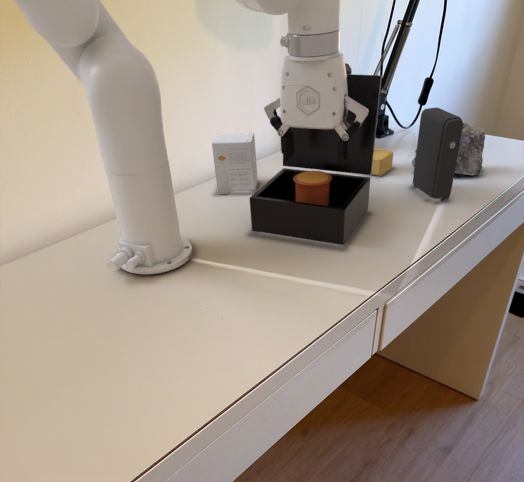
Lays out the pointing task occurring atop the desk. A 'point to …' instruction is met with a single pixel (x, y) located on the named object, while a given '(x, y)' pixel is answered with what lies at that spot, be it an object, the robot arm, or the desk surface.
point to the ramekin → (312, 187)
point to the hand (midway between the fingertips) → (315, 160)
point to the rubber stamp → (381, 161)
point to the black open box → (310, 208)
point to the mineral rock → (469, 151)
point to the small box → (235, 162)
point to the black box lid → (326, 140)
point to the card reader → (437, 152)
